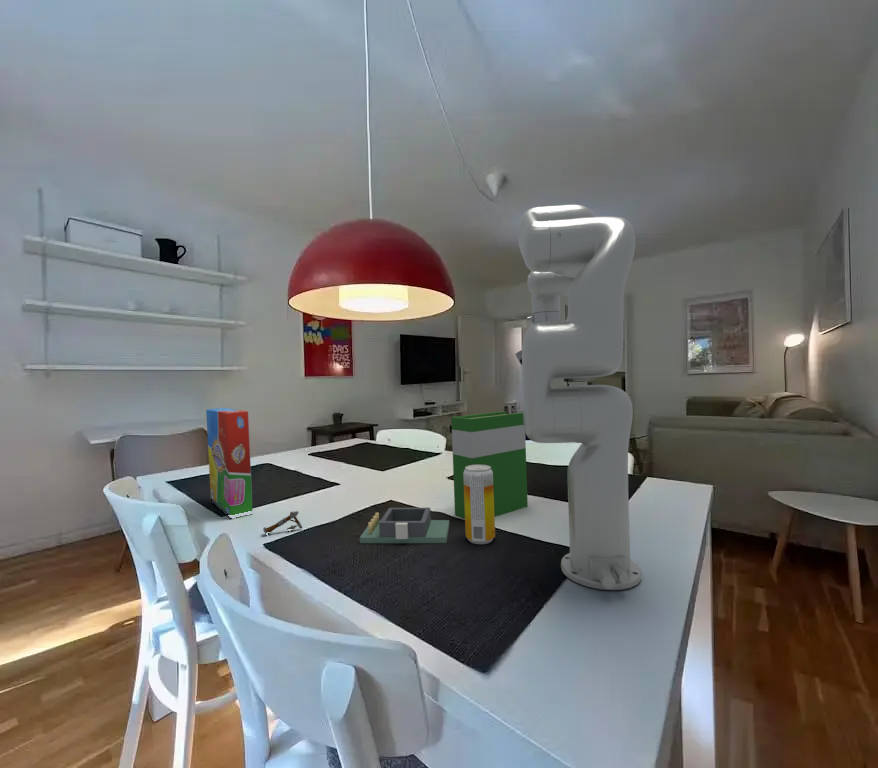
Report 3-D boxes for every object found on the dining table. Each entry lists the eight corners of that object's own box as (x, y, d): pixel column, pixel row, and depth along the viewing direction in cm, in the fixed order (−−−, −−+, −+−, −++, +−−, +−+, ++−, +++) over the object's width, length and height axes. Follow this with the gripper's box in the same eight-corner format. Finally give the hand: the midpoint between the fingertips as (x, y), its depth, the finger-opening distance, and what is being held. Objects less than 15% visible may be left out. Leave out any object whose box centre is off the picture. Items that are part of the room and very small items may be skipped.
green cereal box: (507, 500, 111) (504, 411, 111) (527, 506, 105) (524, 412, 105) (454, 514, 101) (451, 417, 101) (474, 523, 95) (470, 419, 95)
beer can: (494, 533, 88) (492, 463, 88) (495, 545, 82) (493, 470, 82) (466, 533, 89) (463, 464, 89) (465, 545, 83) (462, 471, 83)
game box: (210, 503, 119) (205, 409, 119) (230, 498, 123) (226, 407, 122) (231, 520, 104) (225, 412, 103) (253, 514, 107) (248, 410, 107)
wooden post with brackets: (306, 526, 95) (296, 509, 94) (272, 546, 92) (262, 529, 92) (305, 524, 97) (296, 507, 96) (272, 543, 94) (263, 526, 93)
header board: (445, 544, 84) (445, 524, 84) (358, 544, 85) (357, 524, 85) (449, 525, 94) (448, 507, 94) (372, 525, 96) (371, 507, 96)
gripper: (515, 319, 111) (517, 383, 111) (582, 316, 109) (584, 381, 109) (513, 323, 118) (515, 383, 119) (575, 320, 117) (577, 381, 117)
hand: (548, 382), depth 114 cm, fingers open, 9 cm apart
